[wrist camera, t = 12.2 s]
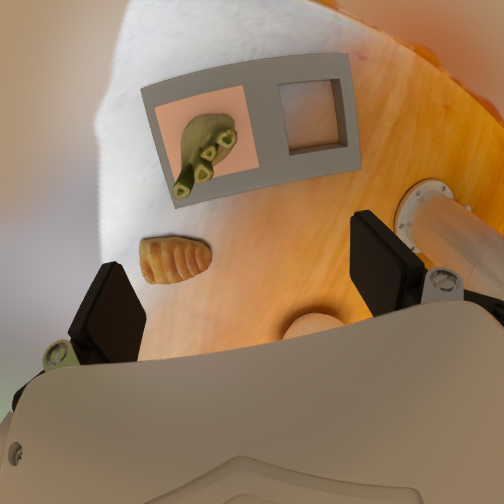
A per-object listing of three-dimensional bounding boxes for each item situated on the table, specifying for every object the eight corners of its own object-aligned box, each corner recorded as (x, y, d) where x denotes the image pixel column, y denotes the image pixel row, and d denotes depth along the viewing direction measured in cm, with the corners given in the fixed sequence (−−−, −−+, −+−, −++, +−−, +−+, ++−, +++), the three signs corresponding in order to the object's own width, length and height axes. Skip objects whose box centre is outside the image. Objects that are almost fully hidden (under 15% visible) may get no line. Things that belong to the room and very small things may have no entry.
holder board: (338, 55, 25) (348, 53, 23) (352, 164, 33) (362, 170, 30) (145, 89, 25) (139, 88, 23) (177, 201, 33) (174, 210, 30)
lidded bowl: (258, 330, 46) (268, 385, 37) (320, 287, 43) (345, 339, 33) (299, 358, 52) (313, 405, 42) (353, 322, 48) (377, 369, 39)
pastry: (207, 227, 35) (207, 242, 32) (215, 270, 39) (216, 288, 36) (137, 237, 35) (131, 252, 31) (150, 278, 38) (146, 296, 35)
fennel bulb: (191, 168, 28) (177, 213, 18) (172, 126, 26) (144, 146, 15) (243, 147, 28) (261, 180, 18) (226, 104, 25) (233, 108, 15)
